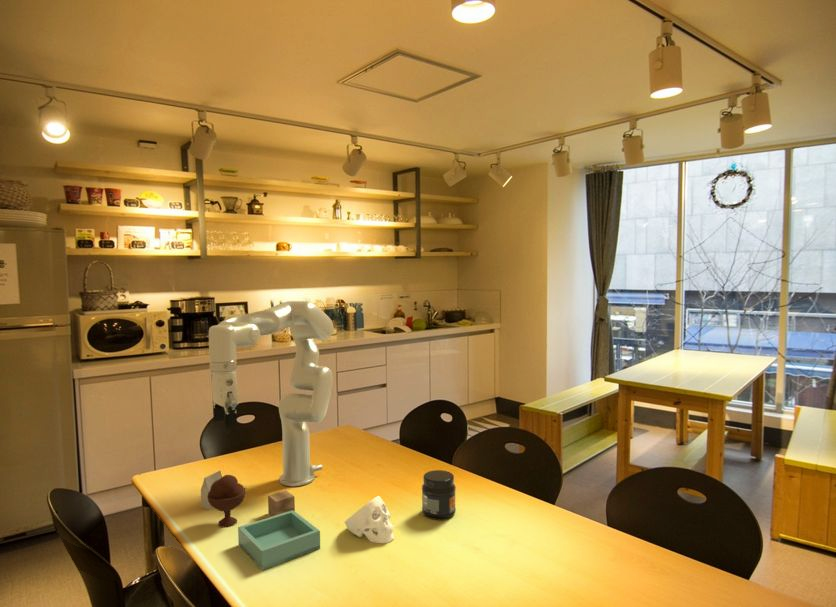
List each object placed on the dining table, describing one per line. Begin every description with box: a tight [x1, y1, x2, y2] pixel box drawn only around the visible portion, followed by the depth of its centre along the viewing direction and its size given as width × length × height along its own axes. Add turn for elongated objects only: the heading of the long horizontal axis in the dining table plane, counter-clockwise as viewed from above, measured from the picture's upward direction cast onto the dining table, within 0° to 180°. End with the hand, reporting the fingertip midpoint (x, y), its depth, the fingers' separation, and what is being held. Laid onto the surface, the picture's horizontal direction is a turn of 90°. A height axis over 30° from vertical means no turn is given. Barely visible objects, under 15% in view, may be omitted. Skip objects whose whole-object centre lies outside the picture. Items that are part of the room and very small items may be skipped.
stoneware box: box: [237, 510, 321, 571], centre depth 144 cm, size 16×16×5 cm
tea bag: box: [200, 470, 223, 510], centre depth 171 cm, size 4×7×10 cm, turn 158°
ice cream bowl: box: [208, 474, 247, 528], centre depth 158 cm, size 11×11×15 cm
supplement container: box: [421, 469, 457, 521], centre depth 164 cm, size 10×10×12 cm
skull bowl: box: [344, 495, 395, 544], centre depth 151 cm, size 10×14×12 cm
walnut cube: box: [267, 489, 296, 517], centre depth 164 cm, size 6×6×6 cm
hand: (224, 423), depth 157 cm, fingers open, 9 cm apart
